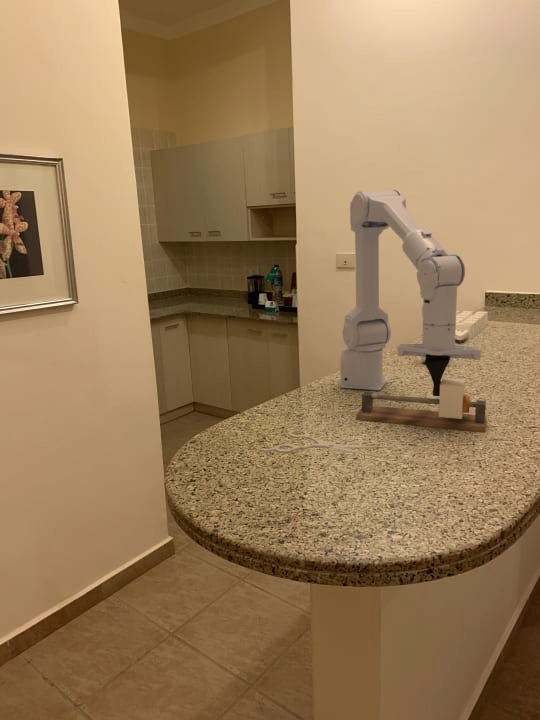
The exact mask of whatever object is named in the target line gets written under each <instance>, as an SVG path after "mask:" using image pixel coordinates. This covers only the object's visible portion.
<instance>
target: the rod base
mask: <svg viewBox="0 0 540 720" xmlns="http://www.w3.org/2000/svg"><path fill="white" fill-rule="evenodd" d="M373 400H377V401H378V400H381V401H392V402H405V403H417V404H419V403H420V404H430V405H439V402H440V398H429V397H419V396H418V397H416V396H415V397H414V396H405V395H404V396H403V395H393V394H392V395H390V394H377V393H374V392H373V391H364V392H363V393H362V394H361V408H360V409H359V410H358V411H357V413H356V414H355V420H359V421H365V422H366V421H367V422H376V423H379V422H380V423H387V424H388V423H390V424H396V425H397V424H399V425H407V426H409V425H410V426H418V427H419V426H420V427H429V428H438V429H439V428H440V429H447V430H448V429H450V430H458V431H459V430H460V431H461V430H462V431H470V432H480V433H485V432H486V428H487V427H486V426H487V417H488V416H487V415H486V406H487V401H486V400H480V399H479V400H477V399H476V401H471V397H470V395H469V394H468V395H467V394H466V395H464V396H463V412H464V413H463V417H462V419H457V418H446V417H439V410H438V411H436V410H425V409H415V408H414V409H413V408H401V407H391V406H390V407H389V406H379V405H374V403H373V402H374V401H373ZM470 408H475V413H474V414H473V413H470Z"/></svg>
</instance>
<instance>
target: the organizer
mask: <svg viewBox="0 0 540 720" xmlns="http://www.w3.org/2000/svg"><path fill="white" fill-rule="evenodd" d="M474 312H475V311H474V310H463V311H460V310H456V331H455V340H456V341H462V340H463V341H464V340H472V339H473V338H474V337H475V336H476V335H478V334H479V333H480V332H481V331H482V330H483V329H484V328H485V327H486V326H487V325H488V323H489V320H488V319H489V311H477V312H475V313H474Z"/></svg>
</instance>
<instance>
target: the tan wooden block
mask: <svg viewBox="0 0 540 720" xmlns="http://www.w3.org/2000/svg"><path fill="white" fill-rule="evenodd" d="M465 387H466V379H461V378H443V377H442V378H441V384H440V396H439V399H440V402H439V404H438V405H439V409H438V411H439V417H446V418H457V419H462V417H463V414H465V412H463V396H464V395H465V393H466V390H465V389H466V388H465Z"/></svg>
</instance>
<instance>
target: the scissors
mask: <svg viewBox="0 0 540 720" xmlns="http://www.w3.org/2000/svg"><path fill="white" fill-rule="evenodd" d="M294 433H302V434H303V435H302V434H301V435H298V434H294ZM288 435H289V436H290V437H292V438H295V439H300V438H302V439H303V438H305V439H310V440H312V441H314V442H315V443H314V444H309V445H293V444H291V443H284V444H279V445H276V446H275V447H271V448H263V450H262V452H264V453H265V452H274V451H276V452H277V453H284V454H285V453H287V454H288V453H292V452H295V451H297V450H300V449H302V450H307V449H311V448H326V449H327V448H330V449H335V450H340V451H345V452H349V453H353V454H360V455H363V456H371V457H375V458H376V457H377V458H378V457H379V458H380V456H379V455H374V454H370V453H368V452H367V453H366V452H363V451H359V450H356V449H355V448H358V449H359V448H362V449H363V448H365V449H366V448H370V449H371V448H376V446H371V445H361V444H360V445H359V444H358V445H356V444H338V443H337V444H336V443H332V442H329V441H325V440H320V439H317V438H316V437H314V436H310V435H309V434H308V432H306V431H305V430H301V429H295V430H291V431H289V432H288ZM286 447H287V448H288V447H289V448H290V449H280V448H286ZM351 448H353V449H351ZM354 449H355V450H354Z"/></svg>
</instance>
